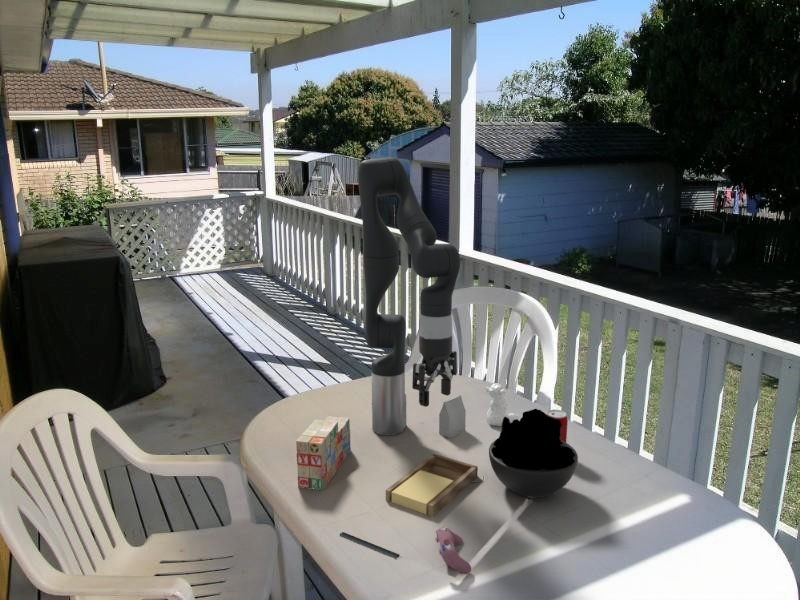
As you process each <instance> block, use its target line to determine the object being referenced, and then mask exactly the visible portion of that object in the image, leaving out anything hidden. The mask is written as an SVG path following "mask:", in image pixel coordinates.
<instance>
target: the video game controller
mask: <svg viewBox="0 0 800 600" xmlns="http://www.w3.org/2000/svg"><path fill="white" fill-rule="evenodd" d="M435 534H436V536H435V537H434V538H435V539H434V540H435V542H436V543H437V544H438V543H439V545H440V548H439V551H440V554H441V557H442V559H443V561H444V563H445V565H446V566H447V567H450V568H452V569H453V570H455V571H459V573H460V574H470V572H471V571H472V566H471V564H470V563H469V562H468V561H467V560H466V559H464V558H462V557H461V556H460V555H459V554H458V553H457V551H456V548H455V545H461V544H464V539H462V537H461V536H459V535H458V534H457V533H455V532H453V531H452V530H451V529H449V527H447V526H444V527H440V528H438V529H436V530H435Z"/></svg>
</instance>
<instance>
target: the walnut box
mask: <svg viewBox="0 0 800 600" xmlns="http://www.w3.org/2000/svg"><path fill="white" fill-rule="evenodd" d="M478 469H479V468H478V466H477V465H473V464H471V463H467V462H464V461H460V460H458V459H453V458H451V457H447V456H445V455H444V456H443V455H440V454H436V453H433V454H431V455H430V456H428V457H427V458H426V459H424V460H423V461H422V462H421V463H419V464H418V465H417V466H416V467H414V468H413V469H412V470H410V471H409V472H407V473H406V474H405V475H404V476H402V477H400V479H398V480H397V481H396V482H394V483H393V484H391V485H390V486H389V487H388V488H386V489H385V501H386V502H390V503H393V502H392V491H394V490H395V489H396V488H397V487H399V486H400V485H401V484H403V483H404V482H405V481H407V480H408V479H409V478H410V477H412V476H413V475H414V474H416V473H417V472H418V471H420V470H422V471H425V472H428V473H431V474H434V475H438V476H441V477H444V478H447V479H450V480H453V484H452V485H451V486H450V487H448V488H447V489H446V490H445V491H444V492H443V493H442V494H440V495H439V496H438V497H437V498H436V499H435V500H433V501H432V502H431V503H430V504H429V512H428V513H427V514H424V513H421V512H419V513H421V514H423V515H427V516H430V517H432V518H433V517H434V516H435V515H436V514H438V512H439V511H441V510H442V508H444V507H445V506H446V505H448V504H449V502H451V501H452V500H453V499H454V498H455V497H456V496H457V495H459V493H460V492H461V491H463V490H464V489H465V488H466V487H467V486H468V485H470V483H471V482H473V481H474V480H475V479H476V478H477V477H478V474H479V473H478ZM393 504H395V505H397V504H396V503H393ZM402 507H404V506H402ZM404 508H407V507H404ZM407 509H410V508H407ZM410 510H412V511H414V510H413V509H410Z"/></svg>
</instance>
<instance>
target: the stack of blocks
mask: <svg viewBox="0 0 800 600" xmlns="http://www.w3.org/2000/svg"><path fill="white" fill-rule="evenodd" d="M350 428H351V427H350V418H349V417H344V416H343V417H341V416H330V415H327V416H326V417H325V418H324V420H322V419H314V420H313V421H312V422H311V423H310V425H309V426H308V427H307V429H306V430H304V432H303V433H302V434H301V435H300V436H299V437H298V438H297V439H296V441H295V442H296V443H295V445H296V465H297V466H296V467H297V488H299V487H304V488H303V489H307V488H314V489H313V490H315V489H319V490H318V491H324V489H325V488H326V486H327V485H328V484H329V483H328V482H330V481H331V479H333V477H334V475H335V474H336V472H337V470H338V469H339V468H340V466H341V465H342V463H343V461H344V460H345V459H346V458H347V457H348V455H349V453H350V451H352V450H351V448H352V447H351V429H350ZM324 487H325V488H324Z"/></svg>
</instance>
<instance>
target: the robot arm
mask: <svg viewBox="0 0 800 600" xmlns="http://www.w3.org/2000/svg"><path fill="white" fill-rule="evenodd" d="M357 182H358V183H357V184H358V192H359V201H360V202H359V203H360V210H361V218H362V219H361V221H362V239H363V240H362V245H363V249H362V251H363V253H362V254H363V271H364V285H365V324H364V327H365V328H364V329H365V340H366V345H367V346H368V347H369V348H372V349H373V348H374V349H392V351H390V352H388V353H387V354H384V355H381V356H379V357H376V358H375V359H373V360H372V361H371V366H370V367H371V371H370V372H371V415H372V417H371V418H372V420H371V421H372V425H371V426H372V432H374V433H376V434H378V435H382V436H395V435H399V434H401V433H403V432H404V431H405V429H406V426H407V394H406V369H405V368H406V364H405V363H406V360H405V358H406V357H405V354H406V334H407V332H406V331H407V326H406V320H405V317H404V316H403V315H402V314H391V313H389V314H388V313H387V314H385V313H384V314H383V313H378V312H379V311H378V310H379V307H380V303H381V301H382V299H383V297H384V295H385V294H386V292H387V291H388V289H389V288H390V286H391V285H392V284H393V282H394V280H395V279H396V277H397V275H398V274H399V270H400V252H399V251H400V249H399V243H398V242H397V240H396V237H395V236H394V234H393V233H392V232H391V230H390V228H389V227H388V226H387V224H385V222H384V220H383V218H382V217H381V215H380V211H379V207H378V198H379V197H386V196H392V195H396V196H397V197H398V198H399V205H398V207H397V212H396V219H395V220H396V225H397V229H398V230H399V233H400V235H401V237H402V238H403V239H404V241H405V243H406V244H407V246H408V251H409V253H410V258H411V264H412V268H413V271H414V272H415V273H416V275H418V276H419V277H420V278H422V279H423V278H424V279H432V278H436V281H435V282H434V283H433V284H431V285H429V286H427V287H424V288H423V289H421V292H420V300H419V301H420V304H419V305H420V307H419V310H420V311H419V312H420V313H419V315H420V316H419V322H418V327H419V328H418V339H419V340H418V348H419V349H418V351H419V353H420V354H421V356H422V360H421V363H416V362H414V363H413V365H412V366H413V367H412V381H411V382H412V383H411V384H412V389H413V390H415V391H418V403H419V405H420V406H421V407H425V408H426V407H429V405H430V391H429V390H430V387H431V385H432V383H434V382H435V379H436V378H437V377H439V376H440V377H441V379H440V381H441V385H440V387H441V388H440V391H441V392H440V393H441V395H443V396H444V395H445V396H447V397H448V396H450V395H451V390H452V388H451V387H452V380H453V376H456V375H457V374H458V358H457V356H458V355H457V354H458V353H457V351H456V350H453V327H454V326H453V317H452V316H453V315H452V313H453V311H452V306H453V305H452V303H453V300H452V298H453V294H454V289H455V285H456V283H457V282H456V281H457V279H458V275H459V272H460V268H461V256H460V252H459V251H458V249H457V248H456V246H455V245H452V244H449V243H444V244H436V242H437V240H438V234H437V232H436V229H435V228H434V226H433V224H432V223H431V222H430V220H429V219H428V217H427V215H426V214H425V212H424V211H423V210H422V207H421V205H420V203H419V201H418V198H417V196H416V193H415V191H414V188H413V185H412V183H411V180H410V178H409V176H408V173H407V171H406V169H405V167H404V165H403V164H402V162H401V161H400V160H399V159H398V158H396V157H389V156H388V157H380V158H370V159H365V160H364V159H363V160H362V161H361V162H360V163H359V165H358V169H357ZM435 244H436V245H435ZM451 367H452V368H451ZM426 375H427V376H426Z"/></svg>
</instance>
